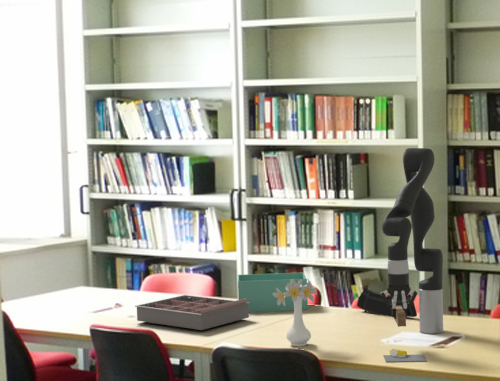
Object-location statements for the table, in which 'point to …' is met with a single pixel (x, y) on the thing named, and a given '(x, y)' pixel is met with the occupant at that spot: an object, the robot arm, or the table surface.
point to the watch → (397, 352)
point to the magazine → (381, 303)
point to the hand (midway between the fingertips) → (399, 318)
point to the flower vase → (297, 310)
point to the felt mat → (405, 358)
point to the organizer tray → (193, 312)
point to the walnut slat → (400, 316)
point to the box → (268, 290)
